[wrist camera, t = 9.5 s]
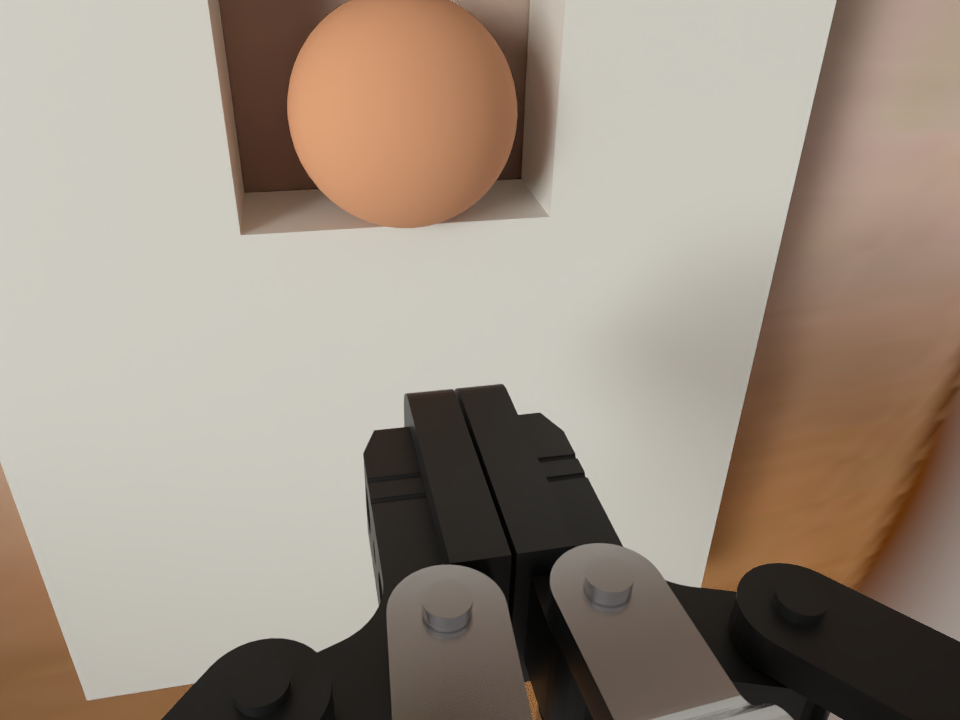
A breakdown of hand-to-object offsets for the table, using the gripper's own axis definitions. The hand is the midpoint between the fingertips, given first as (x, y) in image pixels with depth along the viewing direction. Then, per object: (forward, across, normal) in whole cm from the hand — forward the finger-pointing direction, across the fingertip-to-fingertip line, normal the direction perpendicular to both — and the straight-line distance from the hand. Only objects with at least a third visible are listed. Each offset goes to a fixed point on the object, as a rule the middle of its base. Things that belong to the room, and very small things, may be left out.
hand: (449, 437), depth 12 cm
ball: (+6, 0, -3) cm, 7 cm away
